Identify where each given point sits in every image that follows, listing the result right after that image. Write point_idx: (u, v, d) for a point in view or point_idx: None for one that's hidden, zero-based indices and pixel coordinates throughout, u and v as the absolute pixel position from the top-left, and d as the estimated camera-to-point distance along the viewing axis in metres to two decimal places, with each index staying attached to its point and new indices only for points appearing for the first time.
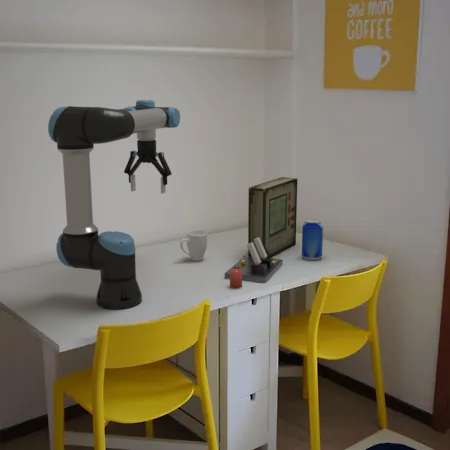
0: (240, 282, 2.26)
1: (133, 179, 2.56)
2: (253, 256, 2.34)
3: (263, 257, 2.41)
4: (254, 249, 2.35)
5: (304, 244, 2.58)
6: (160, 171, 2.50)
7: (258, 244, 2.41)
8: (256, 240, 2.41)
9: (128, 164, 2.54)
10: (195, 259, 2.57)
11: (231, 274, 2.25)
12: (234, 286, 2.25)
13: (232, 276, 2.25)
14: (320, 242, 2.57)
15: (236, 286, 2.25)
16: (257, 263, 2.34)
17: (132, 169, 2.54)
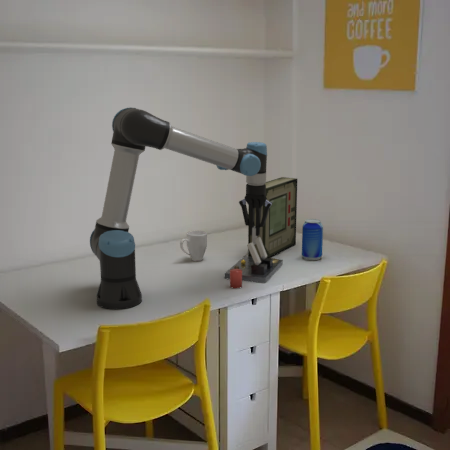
0: (240, 282, 2.26)
1: None
2: (253, 256, 2.34)
3: (263, 257, 2.41)
4: (254, 249, 2.35)
5: (304, 244, 2.58)
6: (257, 221, 2.39)
7: (259, 244, 2.41)
8: (257, 240, 2.41)
9: (244, 215, 2.40)
10: (195, 259, 2.57)
11: (231, 274, 2.25)
12: (234, 286, 2.25)
13: (232, 276, 2.25)
14: (320, 242, 2.57)
15: (236, 286, 2.25)
16: (257, 263, 2.34)
17: (251, 220, 2.40)
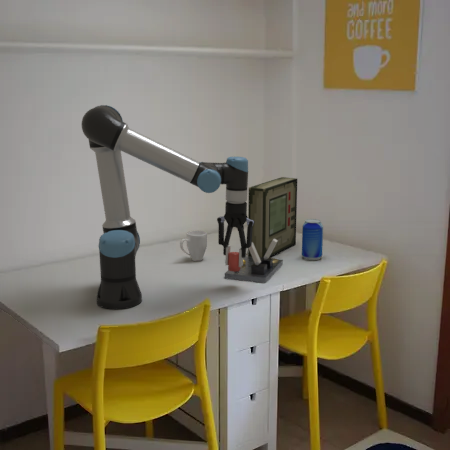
0: (238, 265, 2.24)
1: (228, 251, 2.25)
2: (253, 256, 2.34)
3: (265, 258, 2.41)
4: (254, 249, 2.35)
5: (304, 244, 2.58)
6: (241, 241, 2.21)
7: (272, 246, 2.39)
8: (274, 242, 2.39)
9: (220, 233, 2.24)
10: (195, 259, 2.57)
11: (230, 257, 2.23)
12: (232, 269, 2.24)
13: (231, 259, 2.23)
14: (320, 242, 2.57)
15: (234, 269, 2.24)
16: (257, 263, 2.34)
17: (226, 239, 2.23)
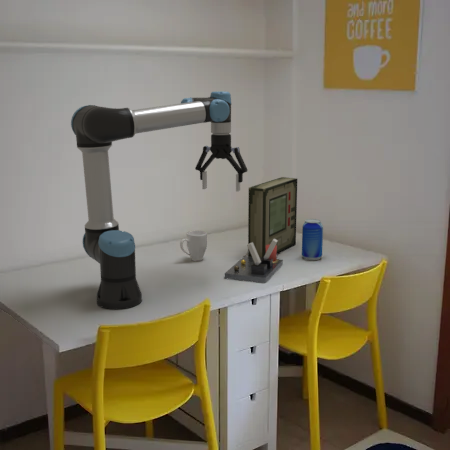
0: (275, 256, 2.49)
1: (205, 176, 2.40)
2: (253, 256, 2.34)
3: (265, 258, 2.41)
4: (254, 249, 2.35)
5: (304, 244, 2.58)
6: (236, 167, 2.34)
7: (272, 246, 2.39)
8: (274, 242, 2.39)
9: (200, 160, 2.38)
10: (195, 259, 2.57)
11: (267, 249, 2.48)
12: None
13: None
14: (320, 242, 2.57)
15: None
16: (257, 263, 2.34)
17: (204, 165, 2.38)
